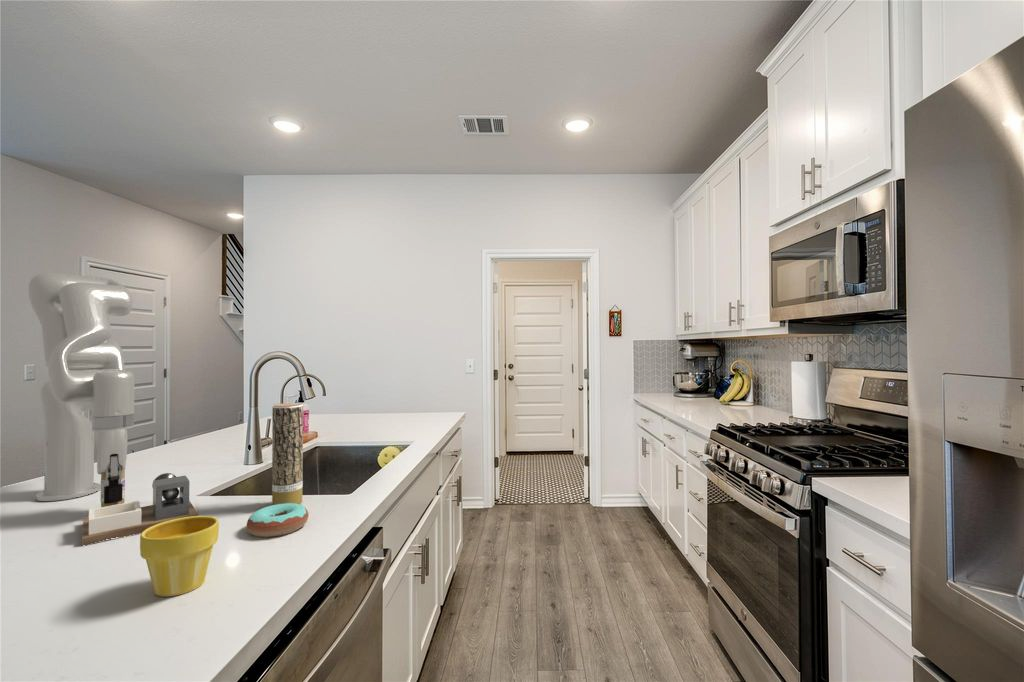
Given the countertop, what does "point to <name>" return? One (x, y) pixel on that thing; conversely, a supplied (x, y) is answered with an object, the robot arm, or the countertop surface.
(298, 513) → the donut
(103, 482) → the sprinkles bottle
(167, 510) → the bearing block
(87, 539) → the walnut board
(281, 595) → the countertop surface
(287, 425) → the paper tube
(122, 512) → the socket
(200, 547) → the plant pot
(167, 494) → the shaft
